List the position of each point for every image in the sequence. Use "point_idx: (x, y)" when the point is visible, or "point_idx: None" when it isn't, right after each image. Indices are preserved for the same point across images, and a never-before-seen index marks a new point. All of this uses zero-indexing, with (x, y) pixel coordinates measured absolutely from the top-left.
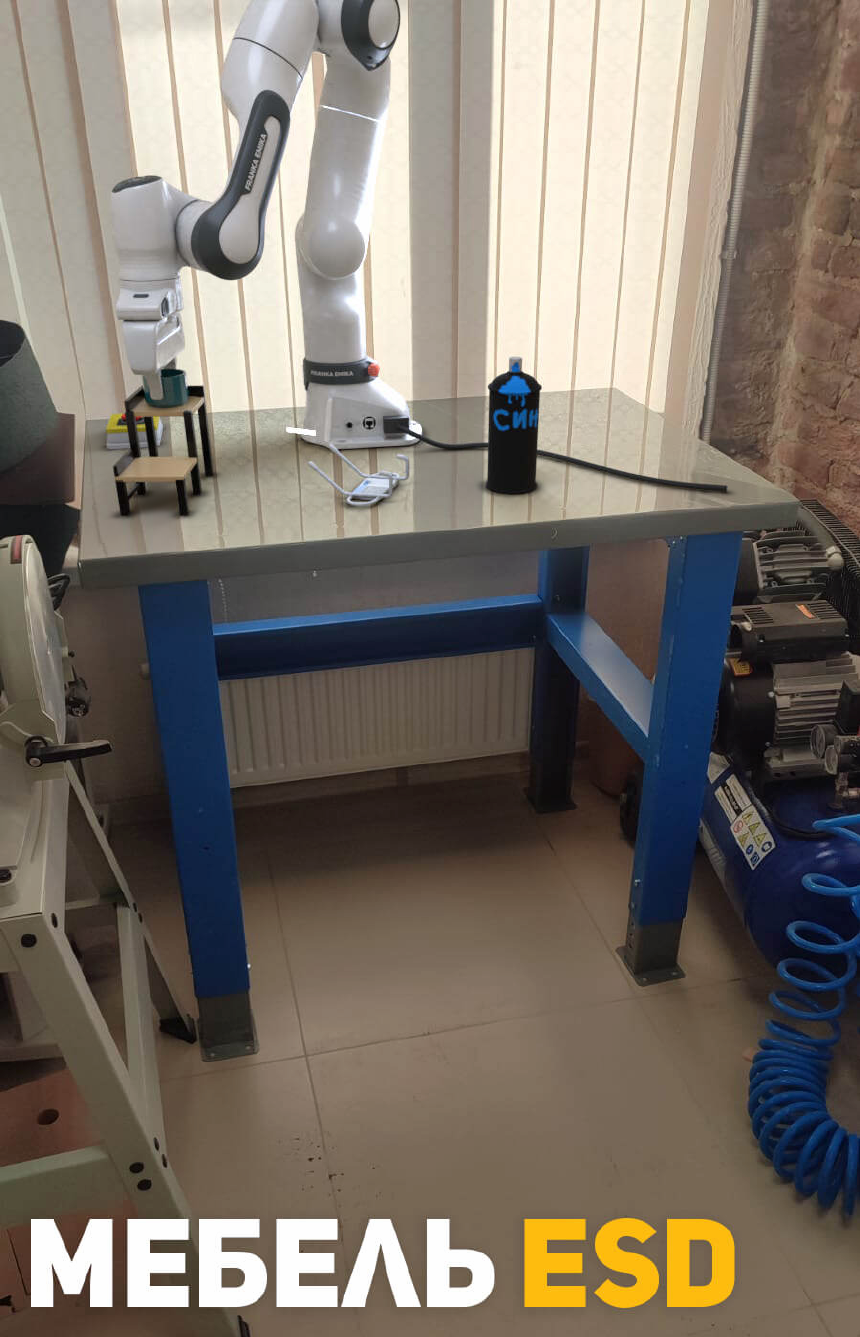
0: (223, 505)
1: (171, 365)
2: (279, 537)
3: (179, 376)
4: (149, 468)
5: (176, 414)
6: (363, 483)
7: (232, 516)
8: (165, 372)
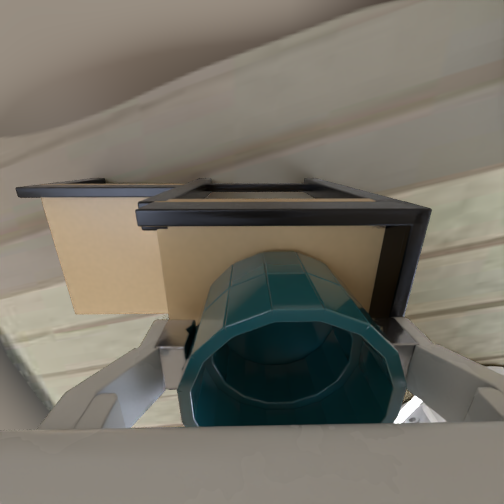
0: (164, 316)
1: (459, 409)
2: (64, 388)
3: None
4: (110, 244)
5: None
6: None
7: (123, 333)
8: (384, 377)
